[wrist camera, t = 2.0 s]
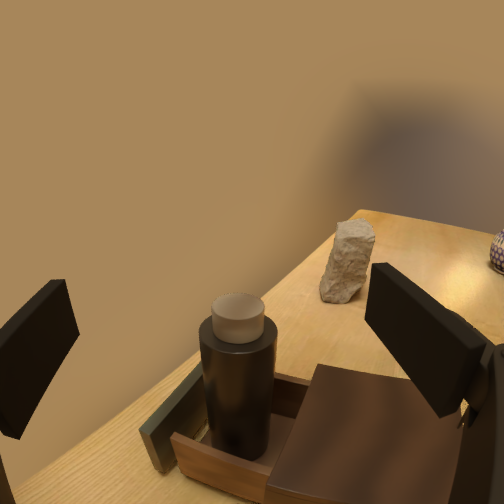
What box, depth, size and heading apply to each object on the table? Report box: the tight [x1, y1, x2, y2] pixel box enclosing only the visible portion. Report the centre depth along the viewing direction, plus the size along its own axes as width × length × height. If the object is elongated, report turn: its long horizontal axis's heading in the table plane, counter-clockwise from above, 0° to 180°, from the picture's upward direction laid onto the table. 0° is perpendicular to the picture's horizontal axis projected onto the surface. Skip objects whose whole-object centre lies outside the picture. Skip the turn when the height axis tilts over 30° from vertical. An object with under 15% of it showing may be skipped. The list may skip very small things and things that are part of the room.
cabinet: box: [263, 364, 463, 504], centre depth 22 cm, size 15×14×9 cm
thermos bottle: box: [199, 293, 278, 461], centre depth 24 cm, size 6×6×16 cm
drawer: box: [139, 361, 311, 504], centre depth 26 cm, size 15×13×7 cm
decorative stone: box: [320, 218, 375, 304], centre depth 59 cm, size 10×9×15 cm
